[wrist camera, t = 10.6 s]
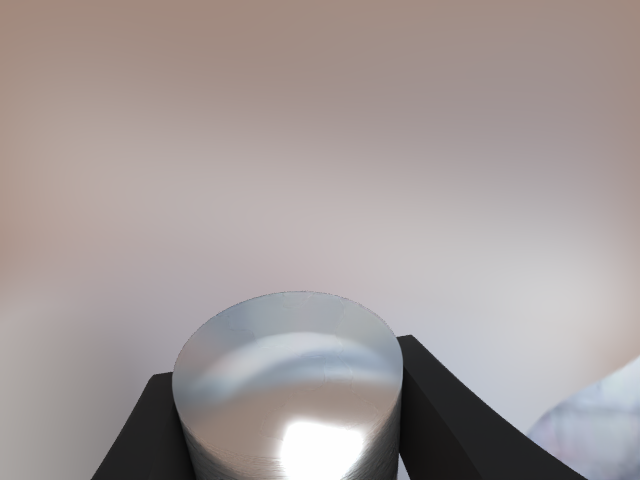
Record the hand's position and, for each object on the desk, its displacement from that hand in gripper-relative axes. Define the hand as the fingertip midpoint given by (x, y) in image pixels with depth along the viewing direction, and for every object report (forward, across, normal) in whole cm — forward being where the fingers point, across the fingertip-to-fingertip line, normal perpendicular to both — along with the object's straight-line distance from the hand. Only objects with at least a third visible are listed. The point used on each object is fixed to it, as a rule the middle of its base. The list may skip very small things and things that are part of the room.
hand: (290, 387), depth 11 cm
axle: (+1, 0, +5) cm, 6 cm away
